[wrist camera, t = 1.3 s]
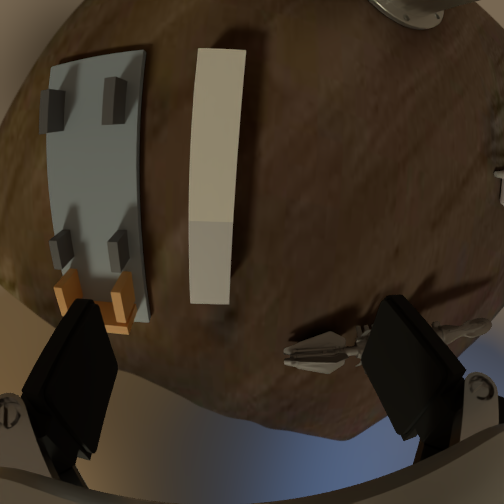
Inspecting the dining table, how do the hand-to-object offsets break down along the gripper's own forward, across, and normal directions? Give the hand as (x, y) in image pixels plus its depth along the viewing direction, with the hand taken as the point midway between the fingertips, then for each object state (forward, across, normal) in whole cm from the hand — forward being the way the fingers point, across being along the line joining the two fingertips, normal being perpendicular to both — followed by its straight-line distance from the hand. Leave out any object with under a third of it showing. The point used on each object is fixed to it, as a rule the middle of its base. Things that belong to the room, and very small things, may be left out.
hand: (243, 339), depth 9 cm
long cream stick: (+19, +1, -2) cm, 19 cm away
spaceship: (+19, -24, +17) cm, 35 cm away
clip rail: (+19, +13, 0) cm, 23 cm away
